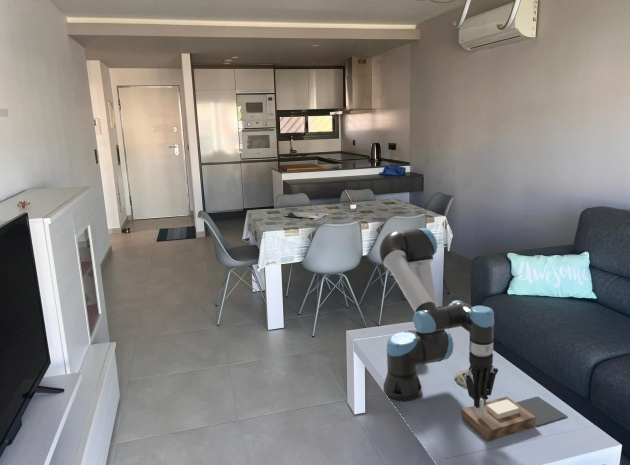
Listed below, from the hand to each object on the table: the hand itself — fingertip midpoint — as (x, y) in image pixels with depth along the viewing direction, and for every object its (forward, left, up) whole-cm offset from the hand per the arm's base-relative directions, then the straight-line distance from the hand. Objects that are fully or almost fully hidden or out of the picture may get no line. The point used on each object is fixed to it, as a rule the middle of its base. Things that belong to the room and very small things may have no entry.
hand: (479, 414), depth 166 cm
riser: (+8, 0, -5) cm, 9 cm away
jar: (+6, +54, -6) cm, 55 cm away
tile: (+10, 0, -1) cm, 10 cm away
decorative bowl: (+18, +27, -6) cm, 33 cm away
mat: (+25, 0, -5) cm, 26 cm away
